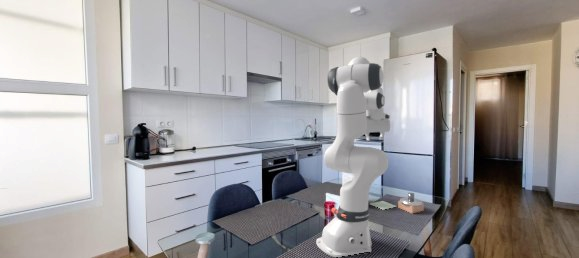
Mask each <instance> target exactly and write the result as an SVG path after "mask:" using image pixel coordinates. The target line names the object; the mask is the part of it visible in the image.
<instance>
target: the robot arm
mask: <svg viewBox="0 0 579 258" xmlns="http://www.w3.org/2000/svg"><path fill="white" fill-rule="evenodd" d="M384 76H385V75H384V71H383V69H382V66H381V65H380V64H378V63H374V62H373V63H372V62H370V60H368V59H367V58H366V57H365V56H356V57H354V58H352V59H351V60H350V61H349V62H348V64H347V65H343V66H335V67H333V68H331V69H330V70H329V71H328V73H327V78H326V79H327V84H328V85H327V87H328V88H329V90H330V92H332V93H333V94H334V95H336V120H337V121H336V123H337V125H336V126H337V131H336V137H335V139H334V141H333V143H332V144H331V145H329V146H328V148H326V149H325V152H324V154H323V160H324V161H323V162H324V165H325V166H326V168H328V169H330V170H332V171H335V172H340V173H342V172H346V173H352V174H354V178H353V180H352V181H349V182H347V183H345V184H343V185H341V187H340V189H339V206H338V208H336V207H332V208H331V213H332V214H335V217H333V218H332V219H331V220H330V221H329V222H328V223H327V224H326V225H325V226H324V228H323V230H322V232H321V233H322V234H321V236H320V237H318V238H317V239H316V241H315V244H316V245H317V247H318V248H319V249H320V250H321V251H322V252H324V253H325V254H326V255H328V256H330V257H333V258H336V257H338V258H343V257H342V256H345V257H349V256H348V255H351V256H355V255H354V254H357V255H360V254H359V253H364V252H370V253H371V252H372V246H373V242H372V238H371V234H370V226H369V219H370V208H369V196H370V189H371V186H372V185H373V183H374V182H375V181H376V180H377V179H378V178H379V177H380V176H382V175H384V174H385V173H386V172H387V169H388V167H389V158H388V156H387V153H386V152H385V151H384V150H381V149H378V148H375V147H371V146H357V145H355V140H357V139H359V138H361V137H363V136H364V135H365V137H366V139H365V140H366V141H371V137H370V133H379V134H380V135H379V136H378V140H379V141H382V140H384V136H385V133H388V132H390V130H391V121H390V119H391V115H390V114H387V113H386V112H384V106H385V96H384V91H383V87H382V85H383V82H384V78H385V77H384ZM364 254H365V253H364Z"/></svg>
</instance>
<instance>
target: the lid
mask: <svg viewBox="0 0 579 258" xmlns="http://www.w3.org/2000/svg"><path fill="white" fill-rule="evenodd" d="M399 201H400V202H401V203H402V204H405V205H409V206H421V205H422V203H423V201H422V200H420V199H419V198H415V193H413V192H407V197H401V198H399Z"/></svg>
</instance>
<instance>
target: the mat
mask: <svg viewBox="0 0 579 258" xmlns="http://www.w3.org/2000/svg"><path fill="white" fill-rule="evenodd" d="M369 205H370V206H373V207H374V206H375V207H374V208H377V207H378V208H377V209H379V208H380V210H381V209H382V210H381V211H386V210H385V209H387V210H390V209H389V208H391V209H394V208H393V207H396V208H397V205H394V204H392V203H389V202H387V201H384V200H381V201H375V202H370V203H369Z"/></svg>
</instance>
